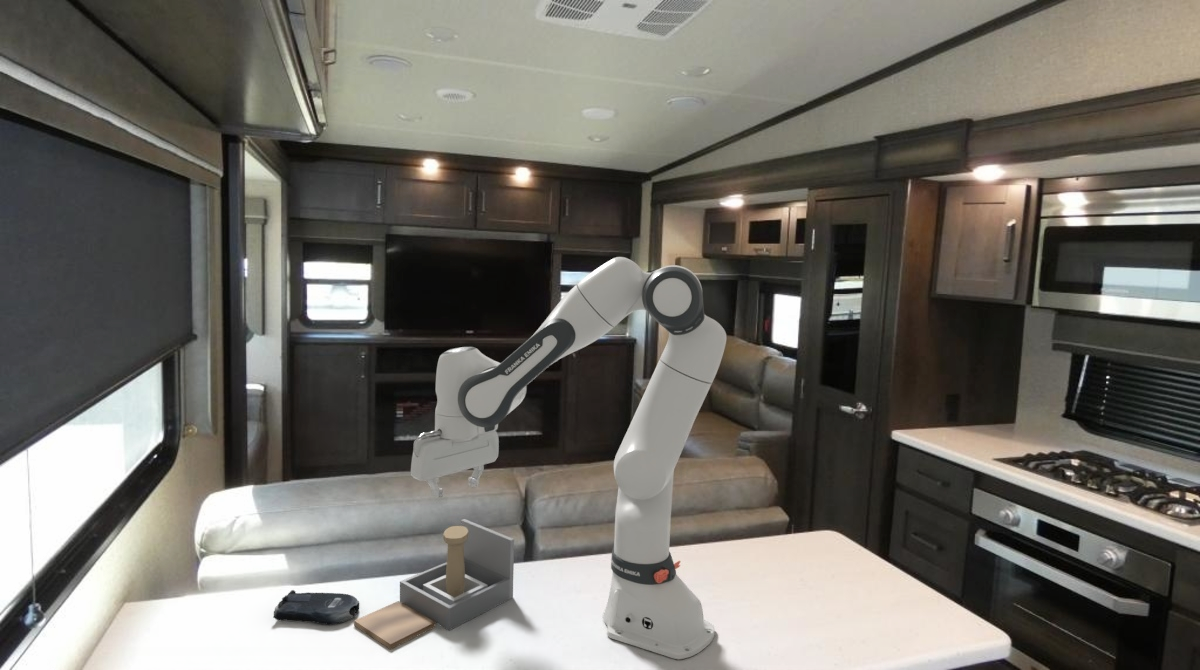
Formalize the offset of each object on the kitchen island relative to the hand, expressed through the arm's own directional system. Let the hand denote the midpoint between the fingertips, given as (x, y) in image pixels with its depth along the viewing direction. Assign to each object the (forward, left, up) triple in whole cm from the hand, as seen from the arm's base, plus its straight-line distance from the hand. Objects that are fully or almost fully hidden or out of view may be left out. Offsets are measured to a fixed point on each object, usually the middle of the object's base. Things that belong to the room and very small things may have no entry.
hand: (455, 491), depth 136 cm
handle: (0, 0, -24) cm, 24 cm away
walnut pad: (+1, +14, -24) cm, 28 cm away
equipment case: (0, 0, -24) cm, 24 cm away
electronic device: (+16, +21, -24) cm, 36 cm away
